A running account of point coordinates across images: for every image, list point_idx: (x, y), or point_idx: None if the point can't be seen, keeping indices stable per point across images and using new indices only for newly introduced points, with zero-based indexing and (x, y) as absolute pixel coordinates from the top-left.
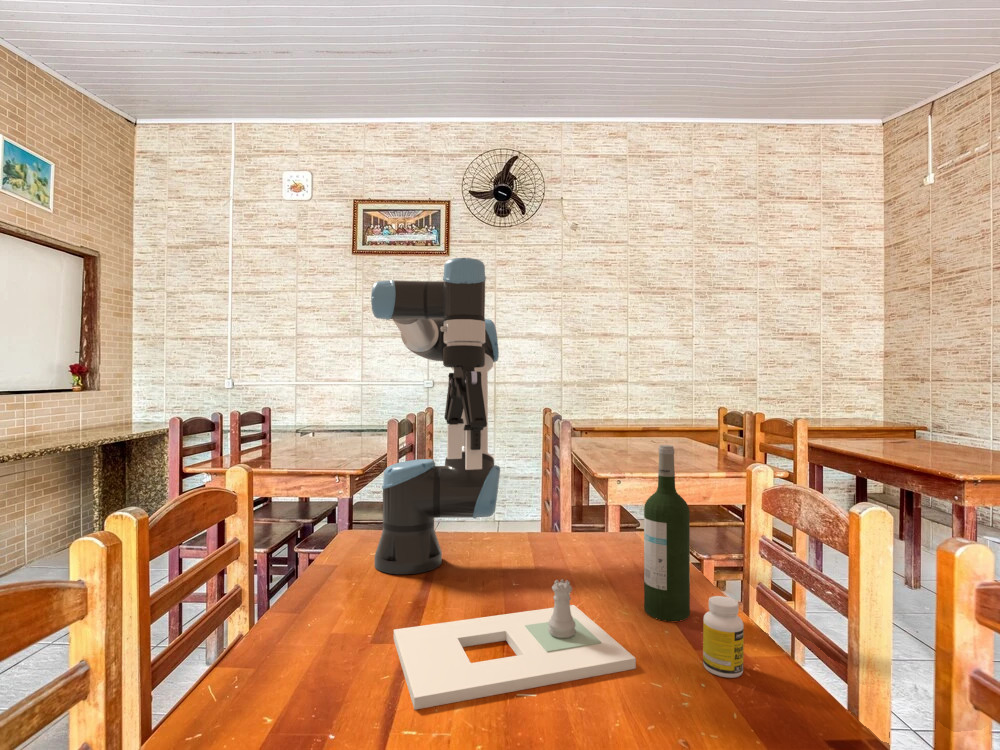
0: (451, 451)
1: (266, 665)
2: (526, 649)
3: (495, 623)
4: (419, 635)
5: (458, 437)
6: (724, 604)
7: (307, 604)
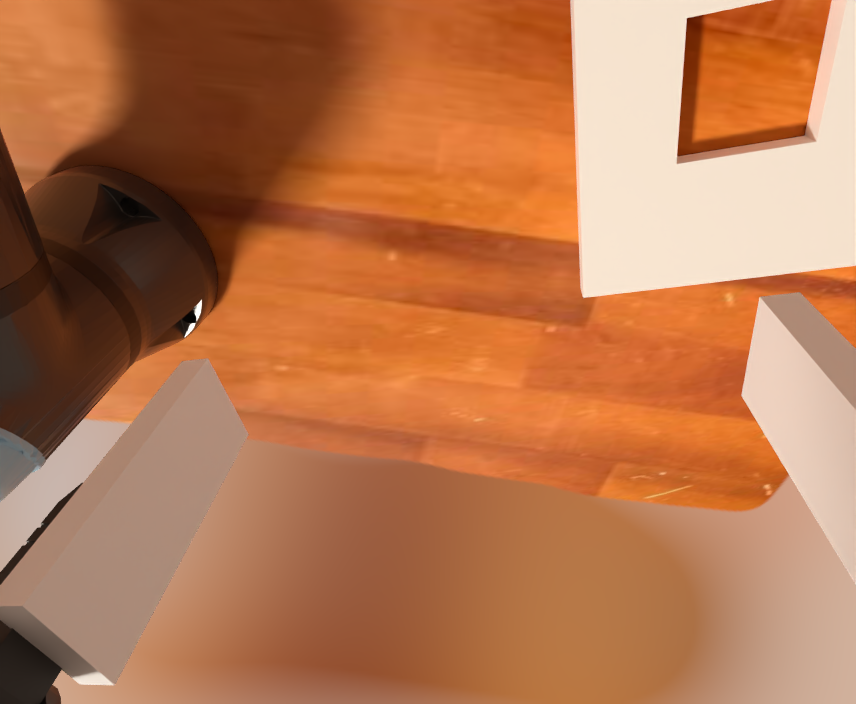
0: (218, 455)
1: (613, 453)
2: None
3: (628, 45)
4: (630, 248)
5: (133, 505)
6: None
7: (388, 430)
